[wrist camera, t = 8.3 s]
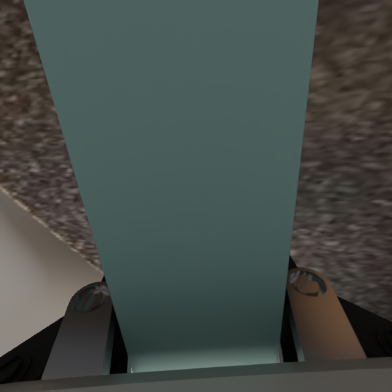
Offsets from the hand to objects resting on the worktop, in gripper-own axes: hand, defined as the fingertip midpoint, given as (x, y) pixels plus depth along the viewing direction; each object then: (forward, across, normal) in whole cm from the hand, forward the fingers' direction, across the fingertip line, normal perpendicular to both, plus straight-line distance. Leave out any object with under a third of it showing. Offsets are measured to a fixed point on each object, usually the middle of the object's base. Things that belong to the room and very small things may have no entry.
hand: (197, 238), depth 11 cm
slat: (+1, 0, 0) cm, 1 cm away
